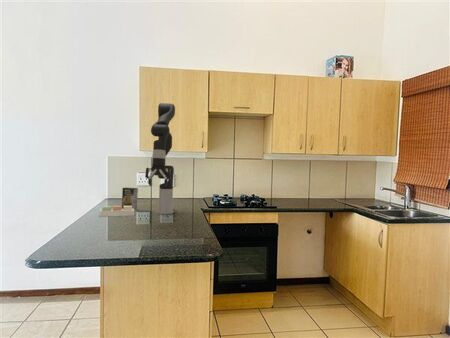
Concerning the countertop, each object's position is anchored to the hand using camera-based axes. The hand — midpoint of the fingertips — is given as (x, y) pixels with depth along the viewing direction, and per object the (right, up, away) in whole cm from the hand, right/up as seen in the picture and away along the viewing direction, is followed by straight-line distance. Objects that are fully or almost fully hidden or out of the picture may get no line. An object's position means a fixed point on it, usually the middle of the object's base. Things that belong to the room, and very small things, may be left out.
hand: (157, 185), depth 183 cm
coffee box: (-30, -20, +45) cm, 57 cm away
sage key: (-38, -18, +22) cm, 47 cm away
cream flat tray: (-32, -20, +24) cm, 45 cm away
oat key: (-26, -18, +26) cm, 41 cm away
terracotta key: (-32, -18, +24) cm, 44 cm away
